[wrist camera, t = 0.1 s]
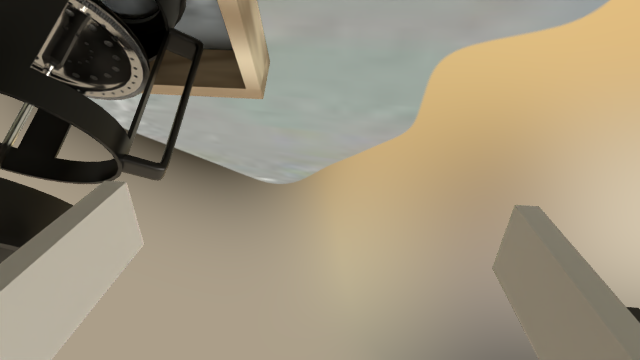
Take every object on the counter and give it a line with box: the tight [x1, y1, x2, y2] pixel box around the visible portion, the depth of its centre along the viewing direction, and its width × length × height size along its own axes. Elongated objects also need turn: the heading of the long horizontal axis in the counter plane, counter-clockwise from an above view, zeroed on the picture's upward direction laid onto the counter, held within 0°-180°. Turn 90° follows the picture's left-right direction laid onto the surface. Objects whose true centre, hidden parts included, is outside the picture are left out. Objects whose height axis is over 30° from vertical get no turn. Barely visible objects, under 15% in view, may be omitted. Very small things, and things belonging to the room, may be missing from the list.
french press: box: [0, 0, 203, 262], centre depth 16 cm, size 12×9×23 cm
